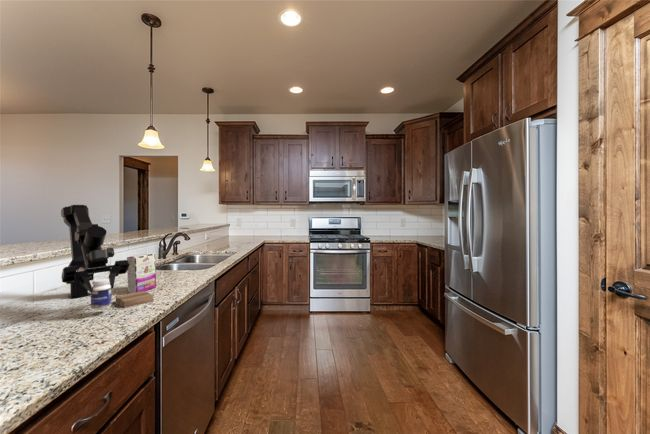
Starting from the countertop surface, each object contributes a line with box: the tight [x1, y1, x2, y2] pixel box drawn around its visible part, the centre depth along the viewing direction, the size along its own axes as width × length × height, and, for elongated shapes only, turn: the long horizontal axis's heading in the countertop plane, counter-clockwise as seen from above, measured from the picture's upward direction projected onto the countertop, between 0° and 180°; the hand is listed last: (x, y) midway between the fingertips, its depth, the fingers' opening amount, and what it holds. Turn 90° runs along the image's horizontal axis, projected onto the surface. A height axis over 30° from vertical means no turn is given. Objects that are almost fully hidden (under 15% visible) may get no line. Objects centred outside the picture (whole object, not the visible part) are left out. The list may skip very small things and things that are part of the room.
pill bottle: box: [90, 277, 112, 311], centre depth 100 cm, size 6×6×10 cm
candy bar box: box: [126, 252, 157, 294], centre depth 129 cm, size 11×5×16 cm, turn 168°
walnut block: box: [115, 291, 154, 309], centre depth 113 cm, size 10×10×2 cm
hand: (102, 289), depth 99 cm, fingers closed on pill bottle, 6 cm apart
